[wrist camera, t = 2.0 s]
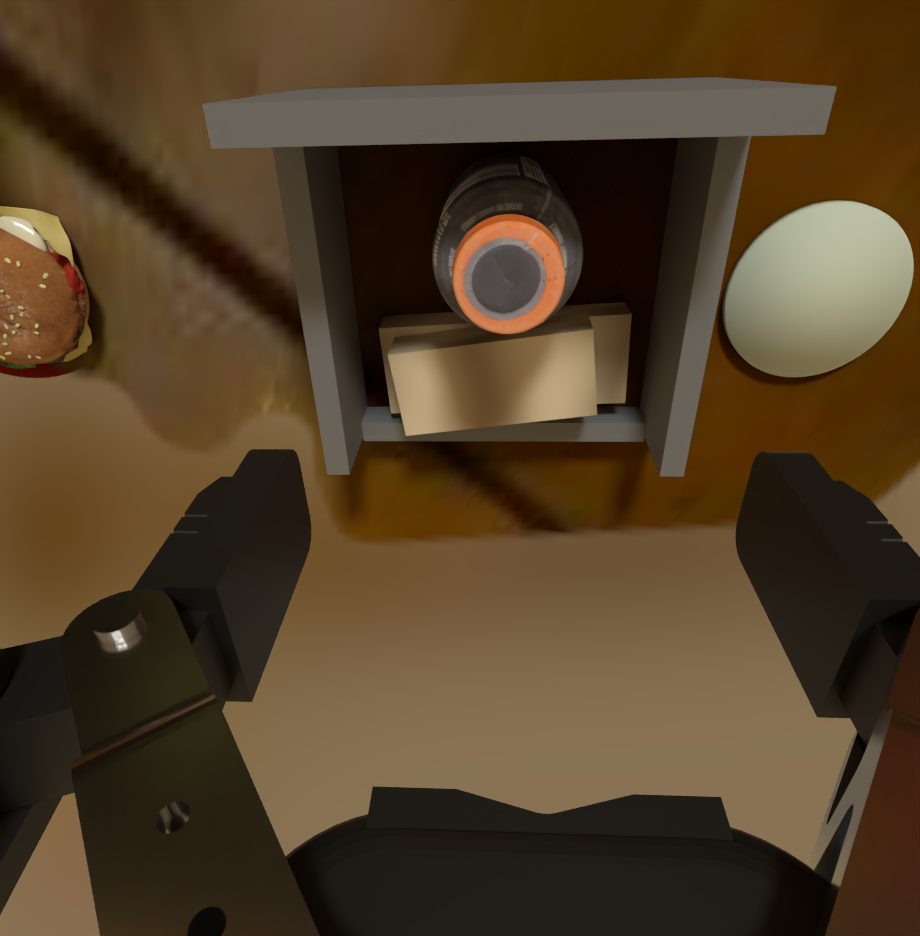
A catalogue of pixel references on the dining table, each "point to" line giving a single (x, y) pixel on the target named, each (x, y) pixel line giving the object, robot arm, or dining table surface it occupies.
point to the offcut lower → (605, 318)
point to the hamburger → (39, 296)
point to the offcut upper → (495, 376)
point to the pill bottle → (506, 245)
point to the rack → (509, 120)
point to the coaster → (817, 288)
